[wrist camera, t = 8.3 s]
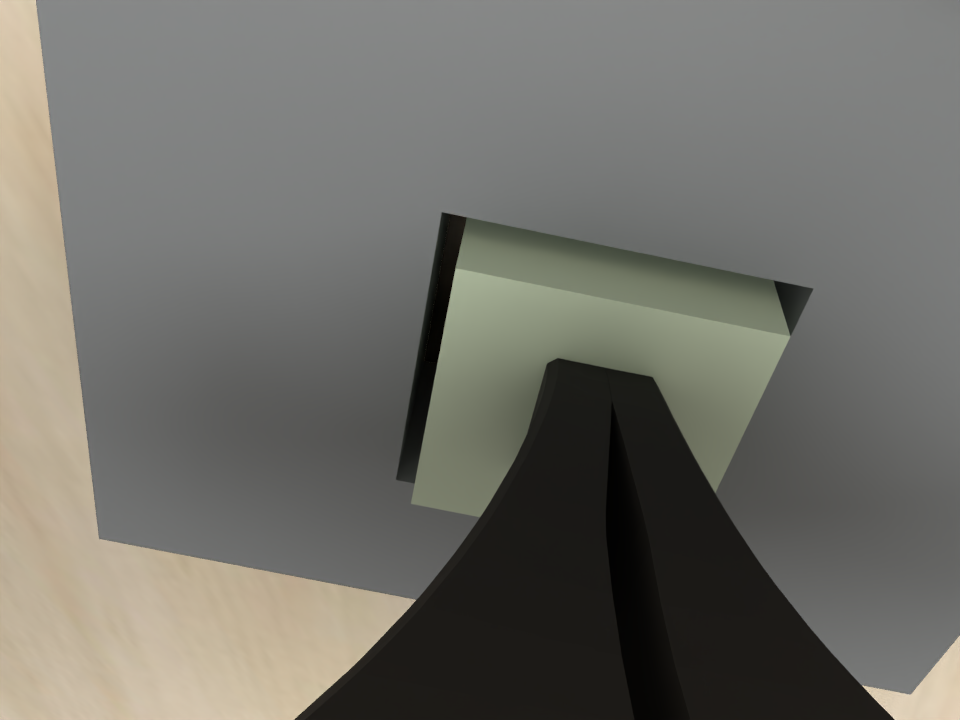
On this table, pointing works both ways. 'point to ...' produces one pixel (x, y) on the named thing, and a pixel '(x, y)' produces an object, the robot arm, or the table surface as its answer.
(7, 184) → the table surface
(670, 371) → the sage button
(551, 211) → the switch panel
